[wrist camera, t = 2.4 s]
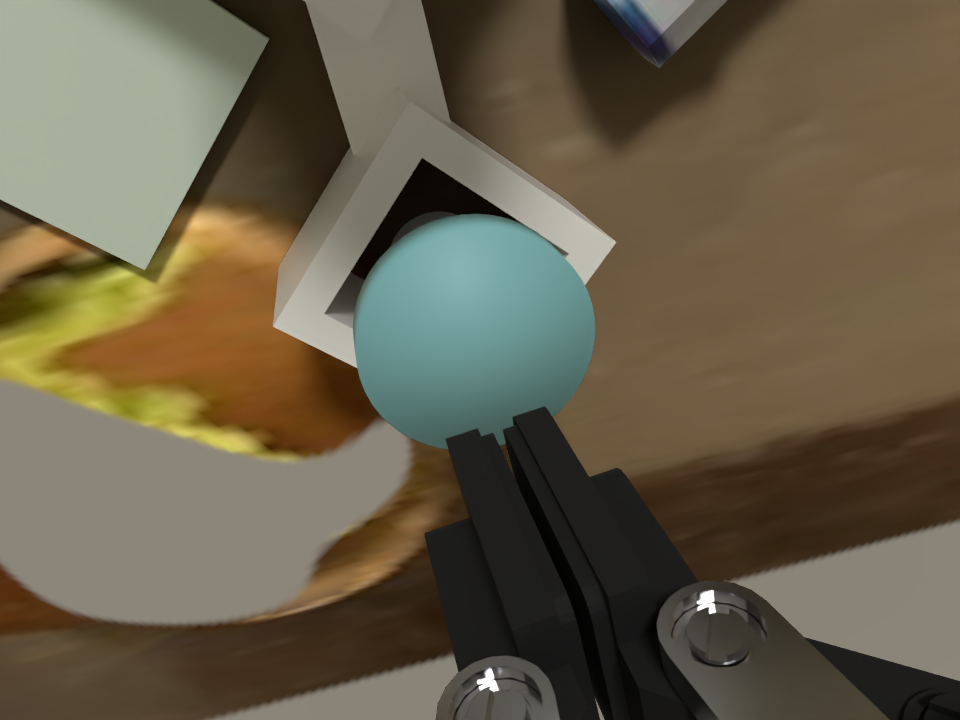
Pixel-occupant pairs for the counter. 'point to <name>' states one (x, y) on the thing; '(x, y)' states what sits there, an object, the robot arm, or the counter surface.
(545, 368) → the teal mushroom knob
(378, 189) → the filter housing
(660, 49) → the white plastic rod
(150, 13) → the mat
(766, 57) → the counter surface
